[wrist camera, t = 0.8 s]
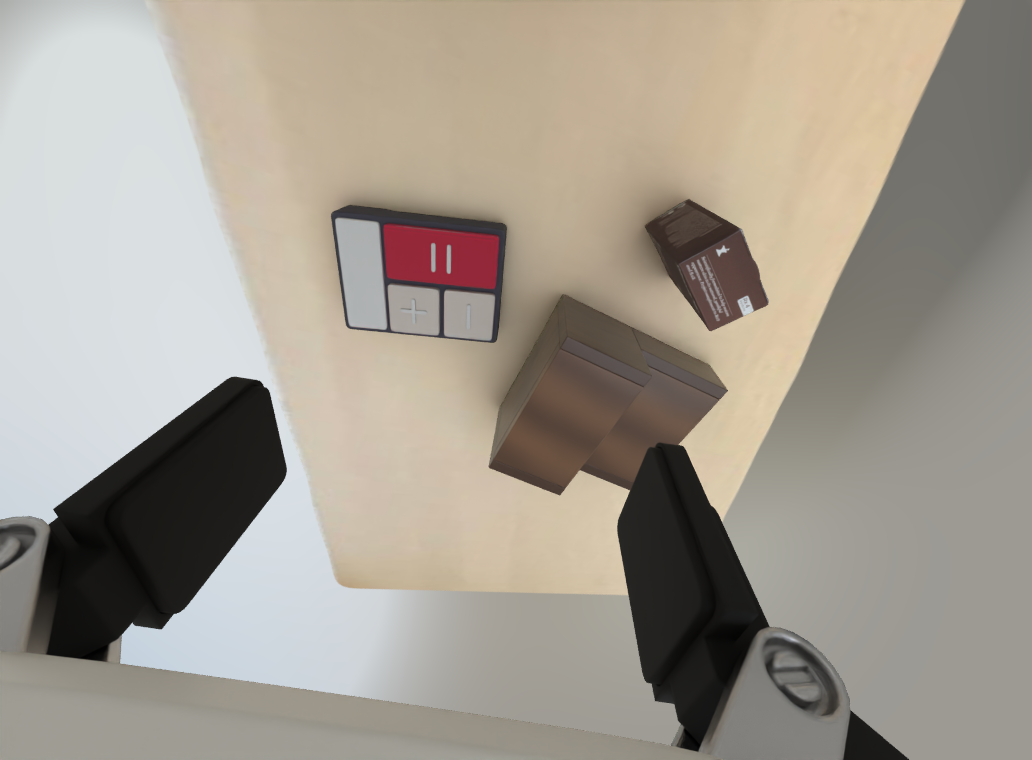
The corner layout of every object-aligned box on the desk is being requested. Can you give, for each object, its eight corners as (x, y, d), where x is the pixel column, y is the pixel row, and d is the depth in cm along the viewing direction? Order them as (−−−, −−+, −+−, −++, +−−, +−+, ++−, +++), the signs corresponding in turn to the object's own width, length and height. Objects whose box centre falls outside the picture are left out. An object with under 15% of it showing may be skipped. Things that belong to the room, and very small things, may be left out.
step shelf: (563, 293, 40) (567, 336, 31) (710, 365, 43) (750, 422, 34) (498, 408, 48) (488, 467, 39) (627, 462, 51) (643, 528, 42)
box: (640, 227, 36) (677, 263, 26) (689, 197, 34) (748, 222, 24) (667, 282, 38) (710, 335, 28) (713, 256, 37) (777, 302, 27)
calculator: (496, 347, 39) (342, 332, 39) (498, 329, 43) (358, 315, 42) (505, 231, 33) (325, 212, 33) (507, 222, 37) (345, 204, 37)
